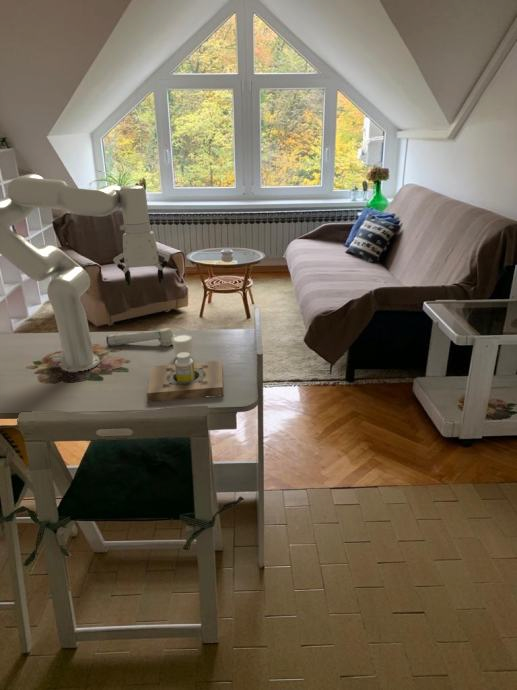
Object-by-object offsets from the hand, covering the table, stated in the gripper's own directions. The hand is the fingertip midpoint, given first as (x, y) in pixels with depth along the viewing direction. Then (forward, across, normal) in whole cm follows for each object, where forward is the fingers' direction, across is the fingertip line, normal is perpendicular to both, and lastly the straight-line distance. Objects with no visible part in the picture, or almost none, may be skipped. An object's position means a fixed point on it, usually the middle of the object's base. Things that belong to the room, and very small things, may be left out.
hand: (145, 282), depth 172 cm
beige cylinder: (+28, +9, +4) cm, 30 cm away
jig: (+28, +11, -17) cm, 35 cm away
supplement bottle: (+28, +11, -17) cm, 35 cm away
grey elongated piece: (+29, -7, +18) cm, 34 cm away
